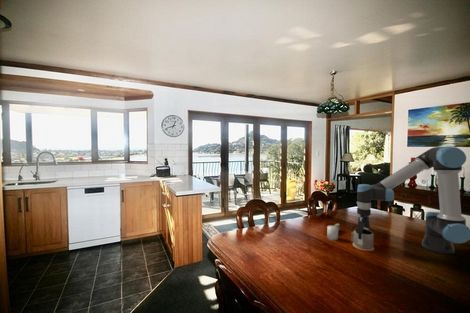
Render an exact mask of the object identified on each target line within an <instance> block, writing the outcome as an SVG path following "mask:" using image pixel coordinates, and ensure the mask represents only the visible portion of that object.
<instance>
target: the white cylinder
mask: <svg viewBox="0 0 470 313" xmlns="http://www.w3.org/2000/svg"><path fill="white" fill-rule="evenodd" d="M326 229H327V230H326V233H327V234H326V239H328V240H330V241H338V240H339V231H338V227H336V226H333V225H327V227H326Z"/></svg>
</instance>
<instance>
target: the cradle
mask: <svg viewBox="0 0 470 313" xmlns="http://www.w3.org/2000/svg"><path fill="white" fill-rule="evenodd" d="M332 226H336V227H338V232H339V231H340V223H338V222H337V223H335V224H334V225H332ZM350 240H351V241H352V242H354V230H353V231H352V232H350Z"/></svg>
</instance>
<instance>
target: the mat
mask: <svg viewBox="0 0 470 313" xmlns="http://www.w3.org/2000/svg"><path fill="white" fill-rule="evenodd" d="M352 246H353V247H354V248H355V249H357V250H360V251H365V252H366V251H367V252H368V251H369V252H372V251H374V250H375V247H374V246H373V248H372V249H362V248H359V247H357V246H356V245H355V244H354V242H352Z"/></svg>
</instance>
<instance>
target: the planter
mask: <svg viewBox="0 0 470 313" xmlns="http://www.w3.org/2000/svg"><path fill="white" fill-rule="evenodd" d="M353 231H354V241H353V243H354V244H355V245H356V246H357V247H359V248H362V249H372V248H373V247H374V231H371V230H370V229H369V230H367V229H363V245H361V244H358V233H356V232H357V228H355V229H354V230H353ZM359 232H360V231H359Z"/></svg>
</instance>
